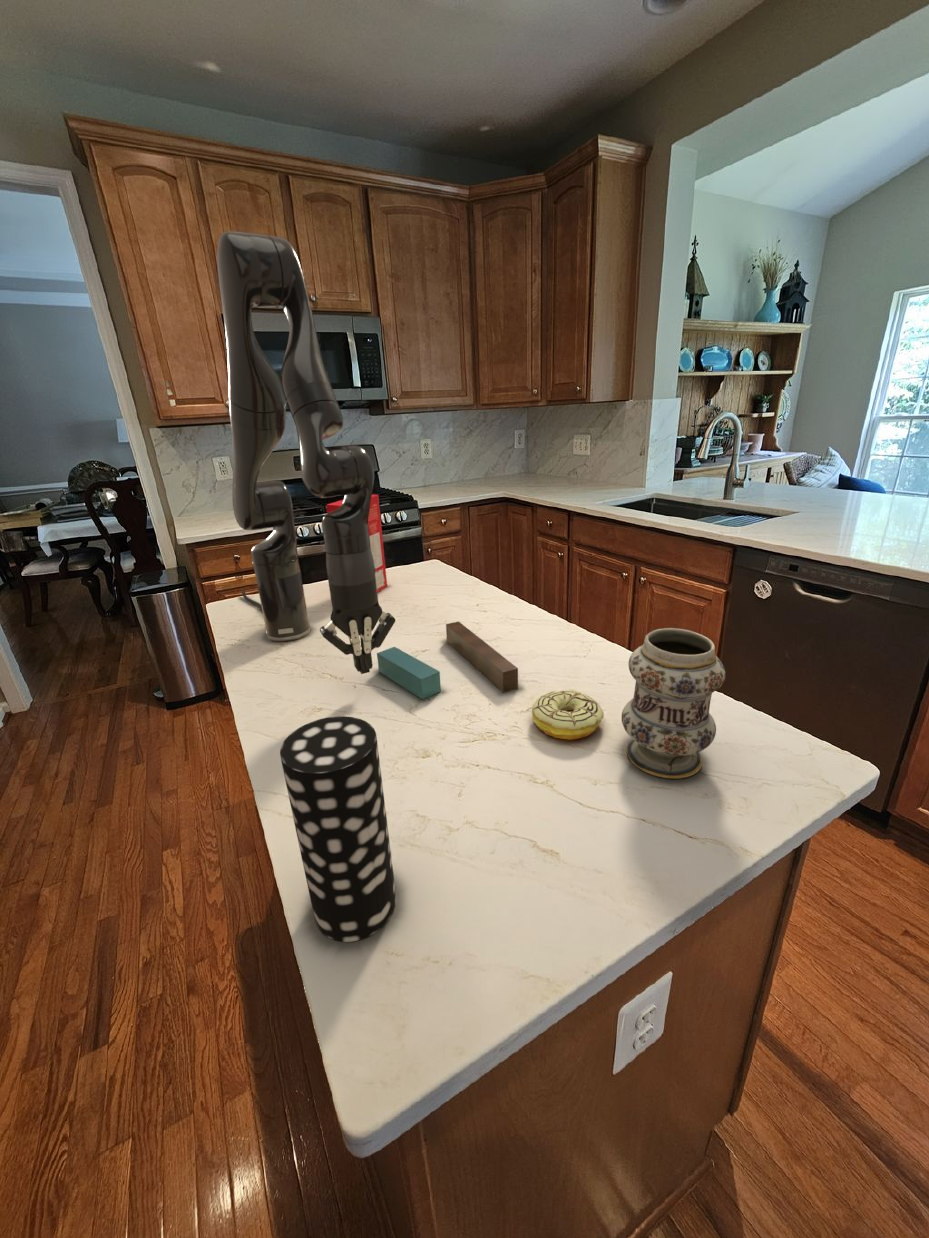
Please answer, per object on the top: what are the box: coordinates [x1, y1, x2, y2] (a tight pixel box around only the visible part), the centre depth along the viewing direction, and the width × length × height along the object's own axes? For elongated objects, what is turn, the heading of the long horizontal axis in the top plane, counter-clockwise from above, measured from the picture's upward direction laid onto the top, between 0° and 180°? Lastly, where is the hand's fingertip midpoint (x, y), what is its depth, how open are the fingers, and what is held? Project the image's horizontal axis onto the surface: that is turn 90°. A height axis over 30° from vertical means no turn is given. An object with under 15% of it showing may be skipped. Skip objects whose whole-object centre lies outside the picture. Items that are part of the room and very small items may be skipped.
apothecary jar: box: [621, 627, 726, 780], centre depth 71 cm, size 12×12×18 cm
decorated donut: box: [531, 689, 605, 741], centre depth 82 cm, size 10×11×4 cm
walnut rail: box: [445, 621, 519, 693], centre depth 102 cm, size 24×3×4 cm, turn 26°
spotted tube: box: [279, 715, 397, 943], centre depth 51 cm, size 8×8×20 cm
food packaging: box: [325, 494, 388, 593], centre depth 136 cm, size 15×5×25 cm, turn 157°
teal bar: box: [376, 646, 442, 700], centre depth 96 cm, size 14×4×4 cm, turn 41°
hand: (364, 671), depth 92 cm, fingers closed
